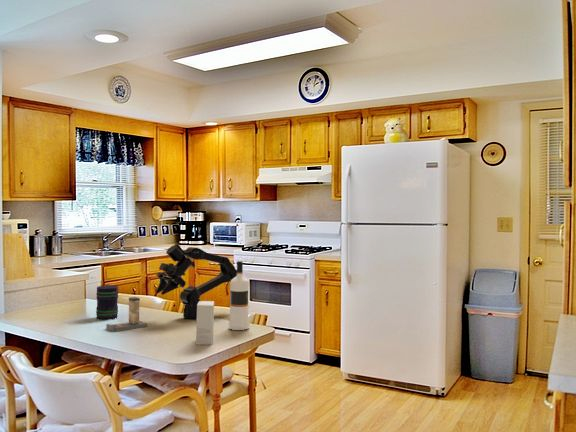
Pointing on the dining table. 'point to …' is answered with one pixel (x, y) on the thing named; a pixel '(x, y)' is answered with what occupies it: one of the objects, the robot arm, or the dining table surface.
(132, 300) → the lever
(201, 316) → the skincare box
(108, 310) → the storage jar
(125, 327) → the fader track
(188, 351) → the dining table surface
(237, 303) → the vodka
